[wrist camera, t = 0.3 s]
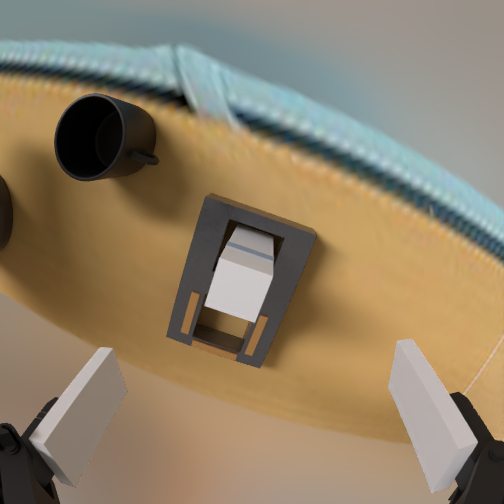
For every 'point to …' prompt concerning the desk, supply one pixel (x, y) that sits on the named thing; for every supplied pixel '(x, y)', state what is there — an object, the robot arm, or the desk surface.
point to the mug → (104, 138)
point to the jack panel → (203, 269)
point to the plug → (242, 274)
